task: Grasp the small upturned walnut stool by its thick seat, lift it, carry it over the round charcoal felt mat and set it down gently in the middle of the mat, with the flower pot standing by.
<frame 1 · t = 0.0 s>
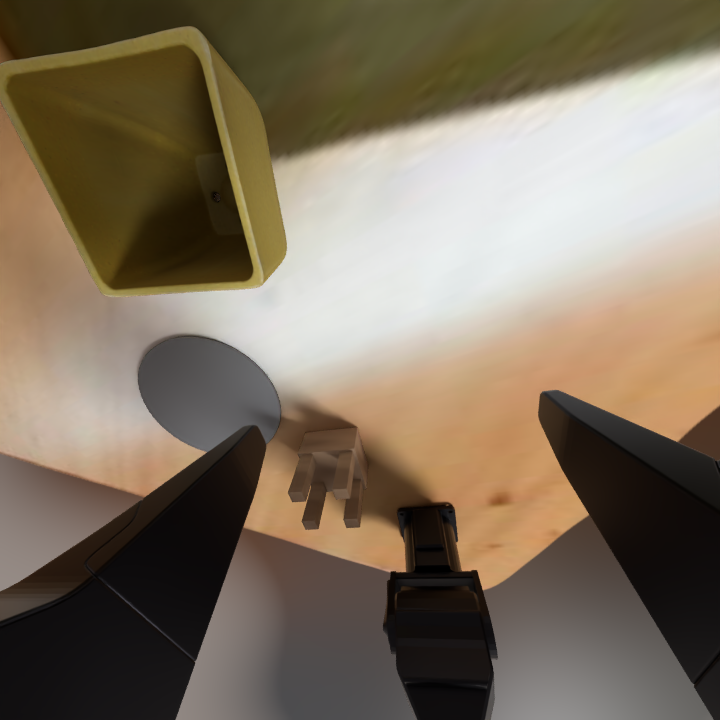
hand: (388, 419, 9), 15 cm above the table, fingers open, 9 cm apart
flower pot: (240, 196, 20), on the table
stool: (337, 448, 30), on the table
mat: (211, 401, 29), on the table
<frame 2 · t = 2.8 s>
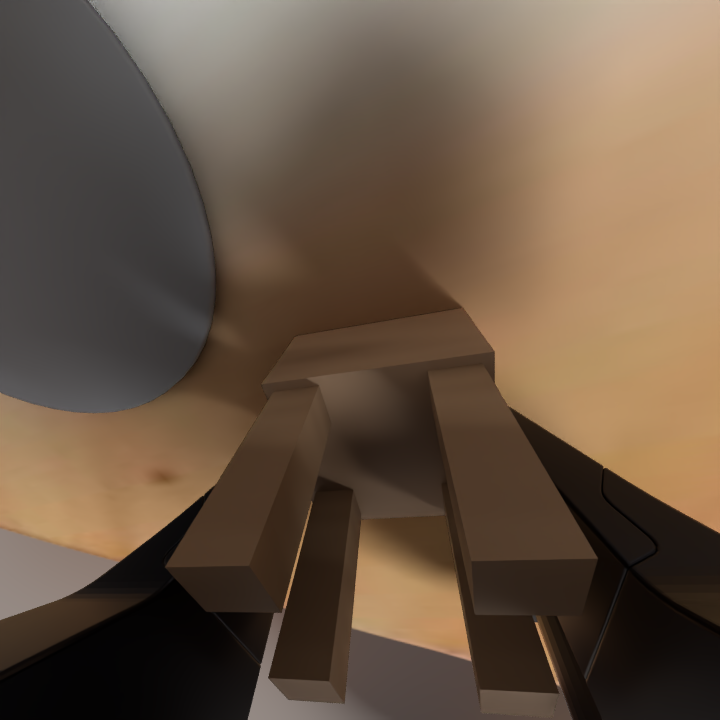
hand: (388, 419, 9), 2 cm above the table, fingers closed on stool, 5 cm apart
stool: (388, 392, 11), on the table, touching gripper
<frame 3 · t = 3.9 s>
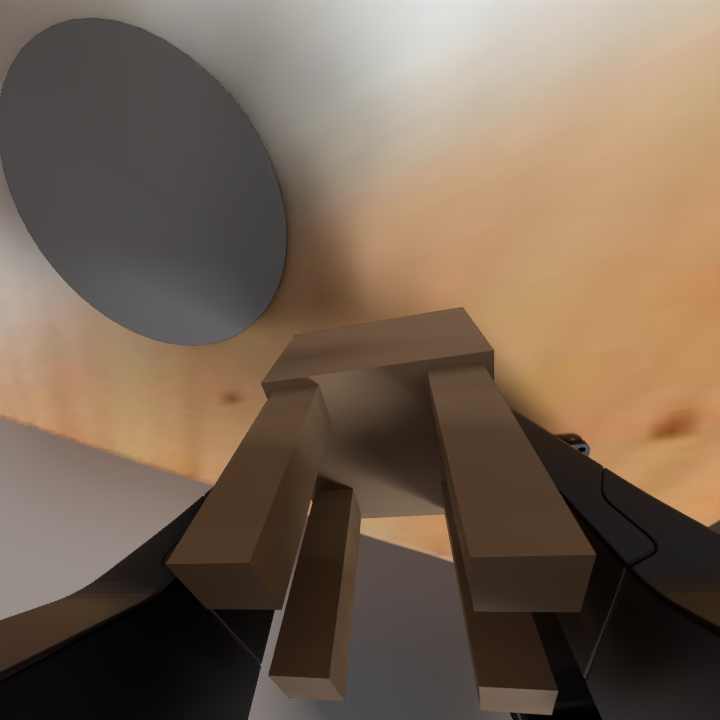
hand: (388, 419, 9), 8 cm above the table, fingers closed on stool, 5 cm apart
stool: (388, 391, 11), point 7 cm above the table, touching gripper
mat: (153, 218, 15), on the table
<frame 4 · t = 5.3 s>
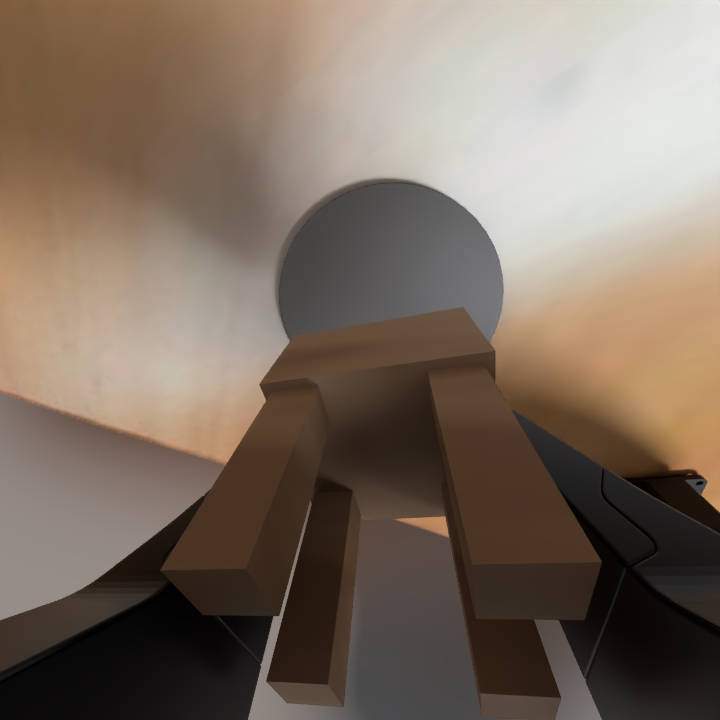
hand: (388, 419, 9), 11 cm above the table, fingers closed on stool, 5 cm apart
stool: (388, 392, 10), point 9 cm above the table, touching gripper
mat: (387, 309, 19), on the table
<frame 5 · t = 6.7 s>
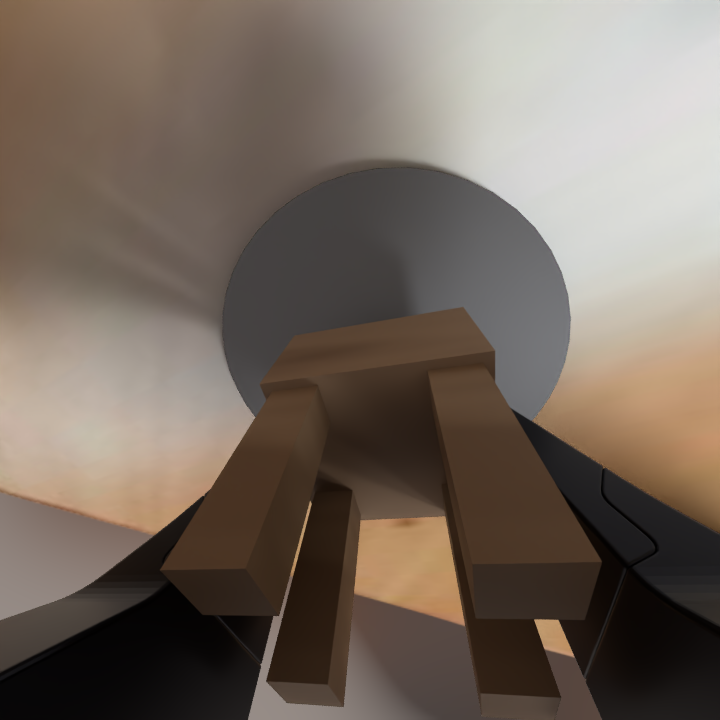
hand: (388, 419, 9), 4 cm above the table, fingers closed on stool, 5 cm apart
stool: (388, 392, 10), point 2 cm above the table, touching gripper
mat: (386, 361, 12), on the table
when the fingers open (3 cm above the table, at t = 7.8 s): stool drops 1 cm, resting on mat.
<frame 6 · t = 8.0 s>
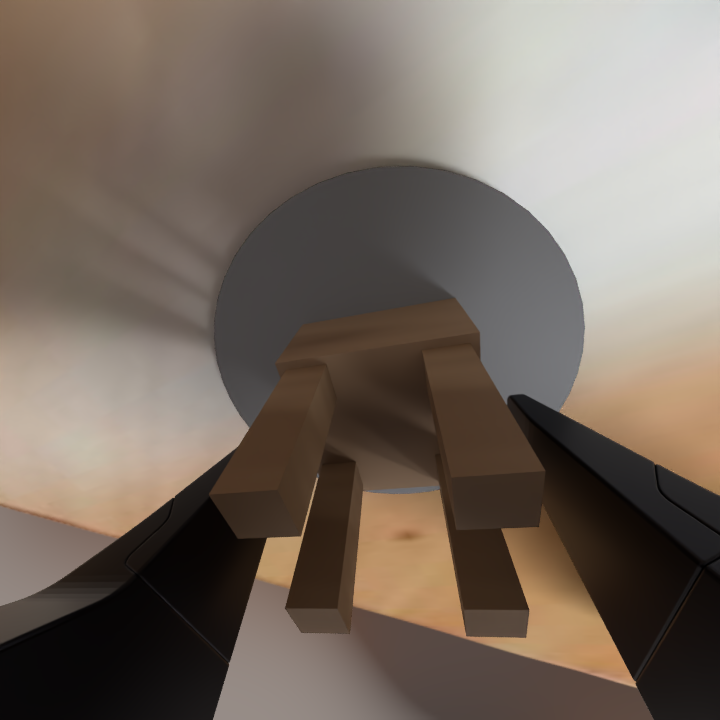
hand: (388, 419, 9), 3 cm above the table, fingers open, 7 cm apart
stool: (388, 376, 11), resting on mat
mat: (387, 371, 12), on the table
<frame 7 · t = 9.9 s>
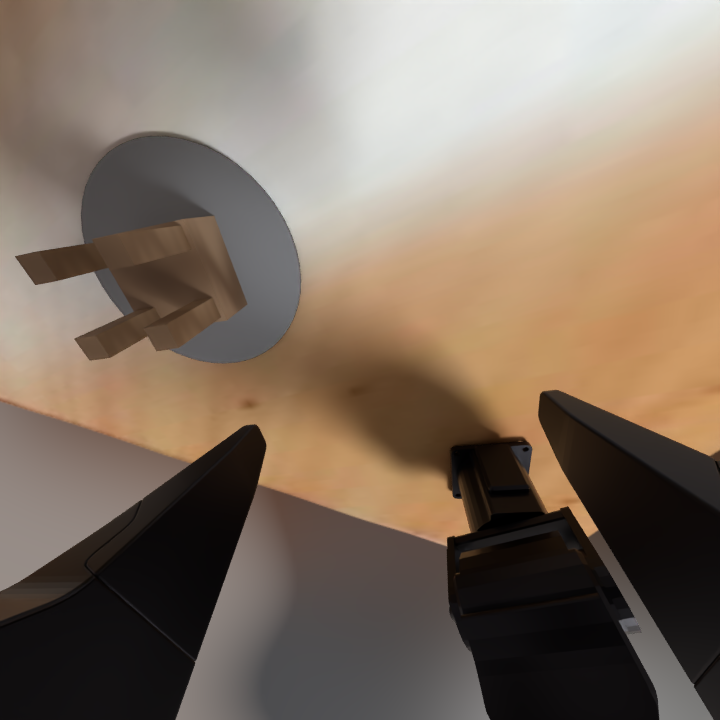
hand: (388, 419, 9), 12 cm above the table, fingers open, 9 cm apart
stool: (193, 270, 19), resting on mat
mat: (196, 269, 19), on the table
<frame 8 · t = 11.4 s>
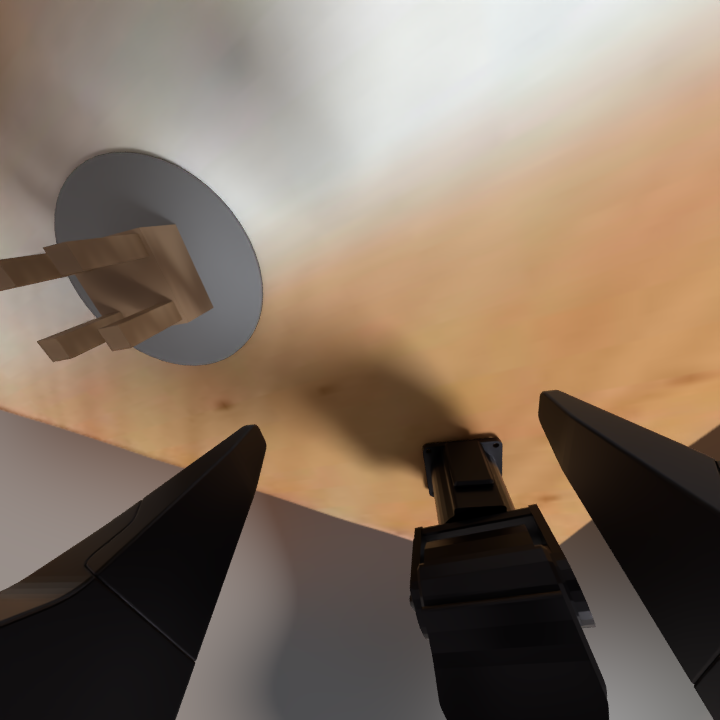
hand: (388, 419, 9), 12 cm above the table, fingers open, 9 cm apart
stool: (160, 276, 20), resting on mat
mat: (164, 275, 20), on the table
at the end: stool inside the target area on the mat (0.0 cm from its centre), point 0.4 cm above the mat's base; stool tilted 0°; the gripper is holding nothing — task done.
